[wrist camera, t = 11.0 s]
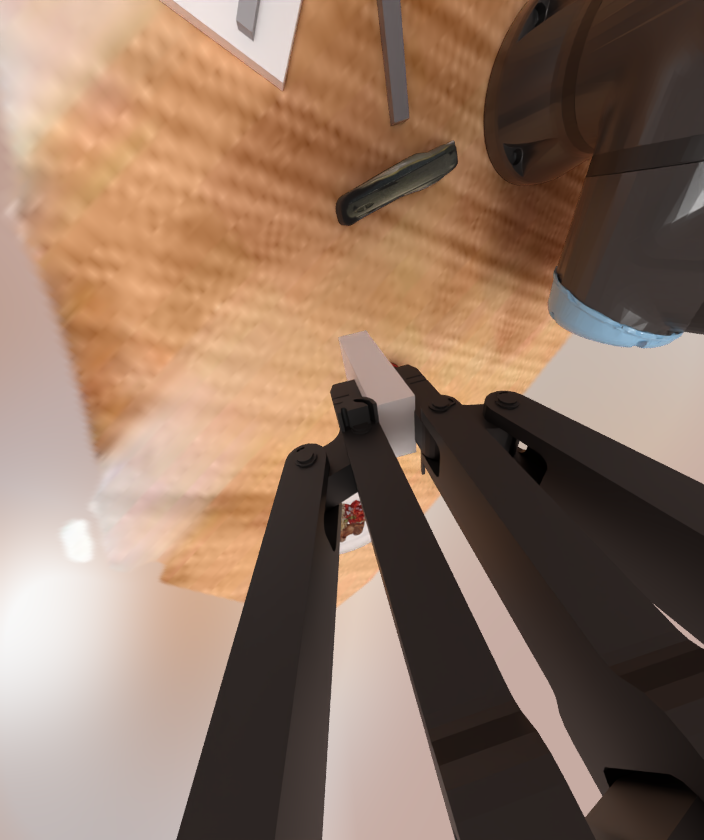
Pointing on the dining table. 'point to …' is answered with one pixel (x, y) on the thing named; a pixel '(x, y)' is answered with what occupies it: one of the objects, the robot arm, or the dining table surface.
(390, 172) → the mobile phone
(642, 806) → the robot arm
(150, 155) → the dining table surface
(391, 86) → the gray rectangular bar
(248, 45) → the gray railed slide base
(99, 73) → the dining table surface
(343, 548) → the plated food
